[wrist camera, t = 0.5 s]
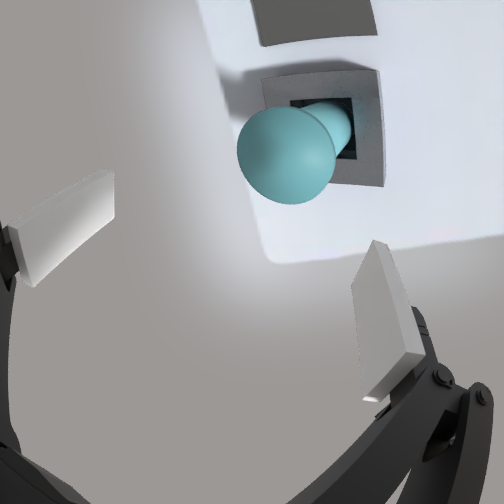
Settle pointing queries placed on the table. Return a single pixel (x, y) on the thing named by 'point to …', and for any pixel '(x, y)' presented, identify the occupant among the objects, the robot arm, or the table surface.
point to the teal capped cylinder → (294, 149)
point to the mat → (313, 19)
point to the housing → (364, 110)
